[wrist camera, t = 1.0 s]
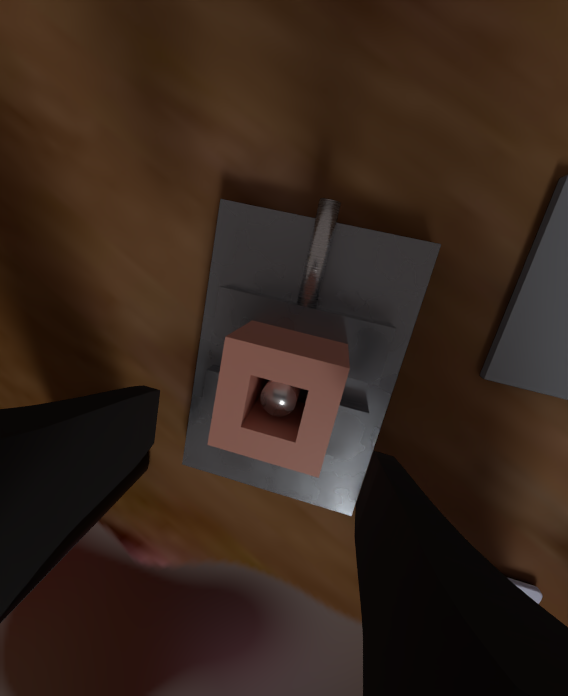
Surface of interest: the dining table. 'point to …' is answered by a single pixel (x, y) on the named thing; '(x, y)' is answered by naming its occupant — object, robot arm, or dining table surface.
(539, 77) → the dining table surface
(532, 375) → the mat
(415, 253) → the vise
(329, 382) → the collar block
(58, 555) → the wine bottle
